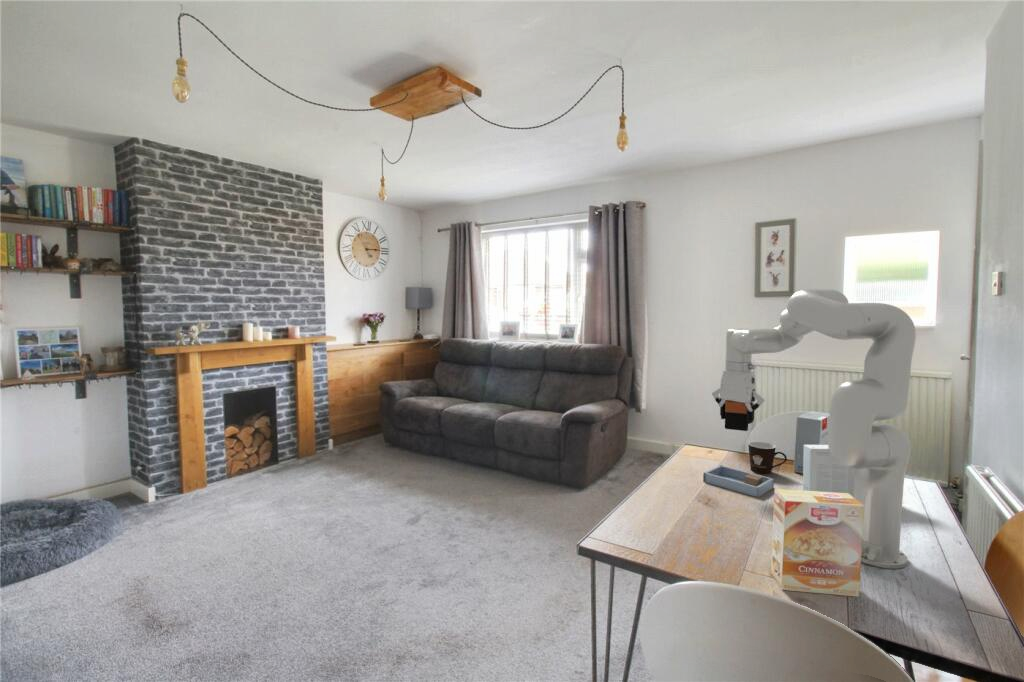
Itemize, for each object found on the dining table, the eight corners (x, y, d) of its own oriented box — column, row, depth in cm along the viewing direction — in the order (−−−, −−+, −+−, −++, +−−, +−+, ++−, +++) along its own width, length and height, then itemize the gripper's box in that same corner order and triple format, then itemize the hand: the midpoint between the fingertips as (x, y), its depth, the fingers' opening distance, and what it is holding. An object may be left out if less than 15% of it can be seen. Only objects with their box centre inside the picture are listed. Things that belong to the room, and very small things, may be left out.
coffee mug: (741, 470, 174) (742, 442, 173) (761, 467, 176) (762, 440, 176) (767, 481, 163) (768, 452, 162) (787, 478, 165) (789, 449, 165)
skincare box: (872, 494, 151) (874, 444, 150) (883, 502, 146) (886, 450, 144) (800, 492, 153) (802, 443, 152) (809, 499, 148) (811, 448, 147)
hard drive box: (817, 478, 166) (820, 420, 164) (793, 472, 171) (795, 416, 170) (831, 467, 176) (833, 413, 174) (807, 462, 182) (809, 409, 180)
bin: (757, 499, 148) (758, 488, 148) (703, 483, 162) (703, 472, 161) (773, 489, 156) (773, 478, 156) (720, 474, 169) (720, 465, 169)
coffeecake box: (781, 590, 102) (785, 500, 100) (769, 572, 109) (772, 487, 107) (861, 598, 99) (865, 505, 97) (843, 578, 106) (848, 491, 104)
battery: (725, 426, 161) (726, 396, 161) (748, 428, 158) (749, 398, 157) (724, 429, 157) (725, 398, 157) (747, 431, 154) (748, 400, 154)
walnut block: (757, 492, 152) (757, 479, 152) (744, 488, 155) (744, 476, 155) (762, 489, 155) (763, 476, 154) (749, 485, 158) (750, 473, 157)
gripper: (771, 368, 152) (769, 423, 153) (717, 363, 165) (716, 414, 167) (761, 370, 147) (759, 427, 149) (706, 365, 160) (705, 417, 162)
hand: (736, 420), depth 158 cm, fingers closed on battery, 7 cm apart
